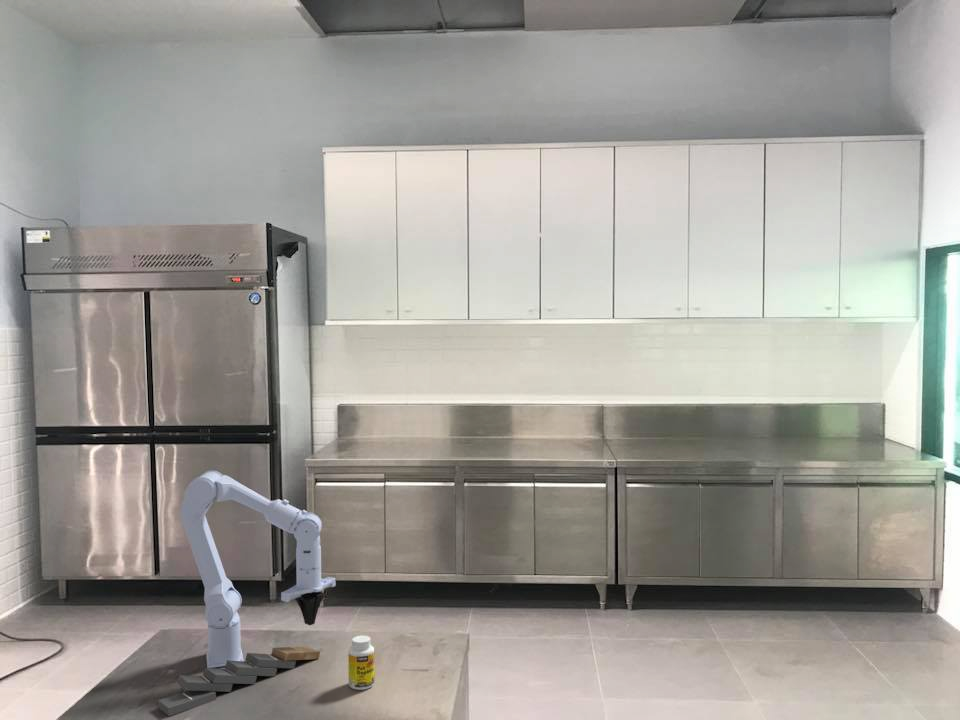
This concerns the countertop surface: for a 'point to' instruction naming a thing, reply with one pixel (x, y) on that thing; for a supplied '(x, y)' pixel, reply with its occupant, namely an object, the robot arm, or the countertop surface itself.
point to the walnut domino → (295, 653)
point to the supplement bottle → (361, 663)
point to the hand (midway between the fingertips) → (309, 623)
